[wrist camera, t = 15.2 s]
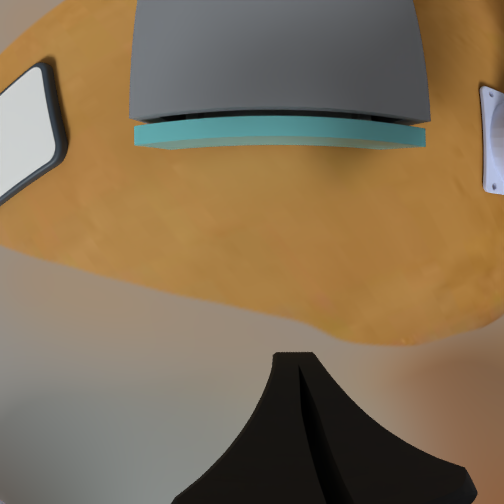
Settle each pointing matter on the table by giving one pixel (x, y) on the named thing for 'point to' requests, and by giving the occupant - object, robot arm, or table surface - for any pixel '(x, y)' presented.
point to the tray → (278, 130)
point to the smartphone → (29, 130)
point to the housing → (278, 58)
